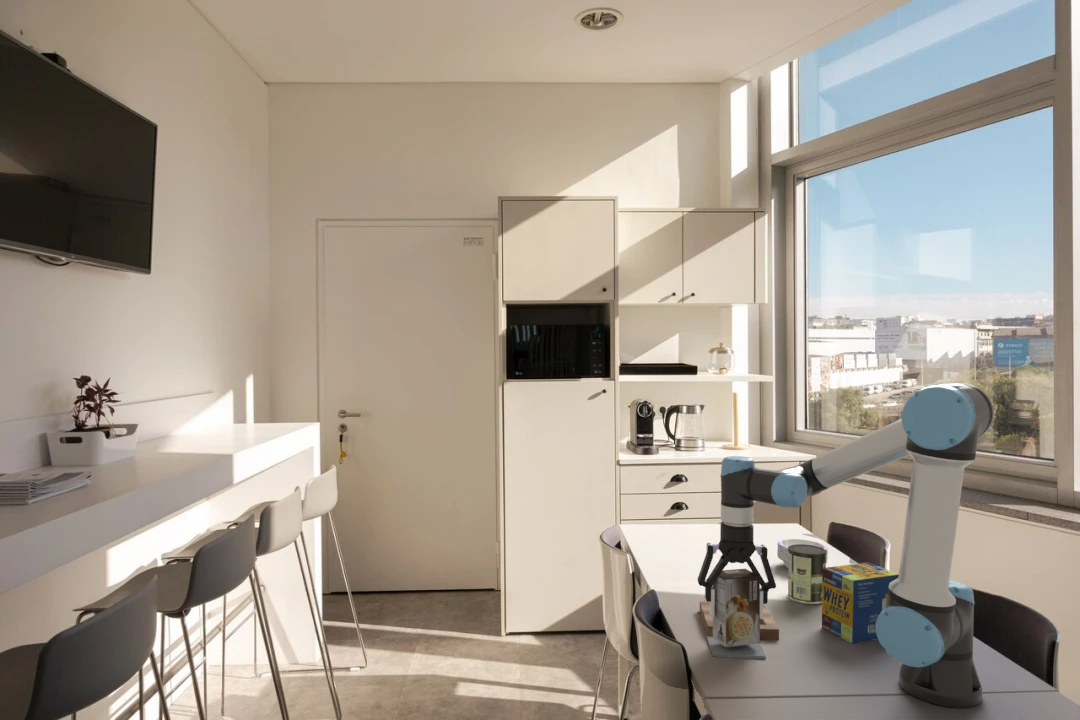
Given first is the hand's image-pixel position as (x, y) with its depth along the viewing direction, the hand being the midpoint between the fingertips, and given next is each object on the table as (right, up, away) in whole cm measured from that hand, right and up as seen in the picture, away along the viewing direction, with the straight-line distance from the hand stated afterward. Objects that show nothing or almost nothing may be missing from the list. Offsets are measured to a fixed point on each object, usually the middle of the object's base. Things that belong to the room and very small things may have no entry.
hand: (735, 615), depth 168 cm
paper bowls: (+38, -7, +62) cm, 73 cm away
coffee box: (0, -6, 0) cm, 6 cm away
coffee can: (+30, -8, +34) cm, 46 cm away
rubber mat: (0, -8, 0) cm, 8 cm away
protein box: (+34, -8, +11) cm, 37 cm away
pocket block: (+4, -8, +15) cm, 17 cm away
